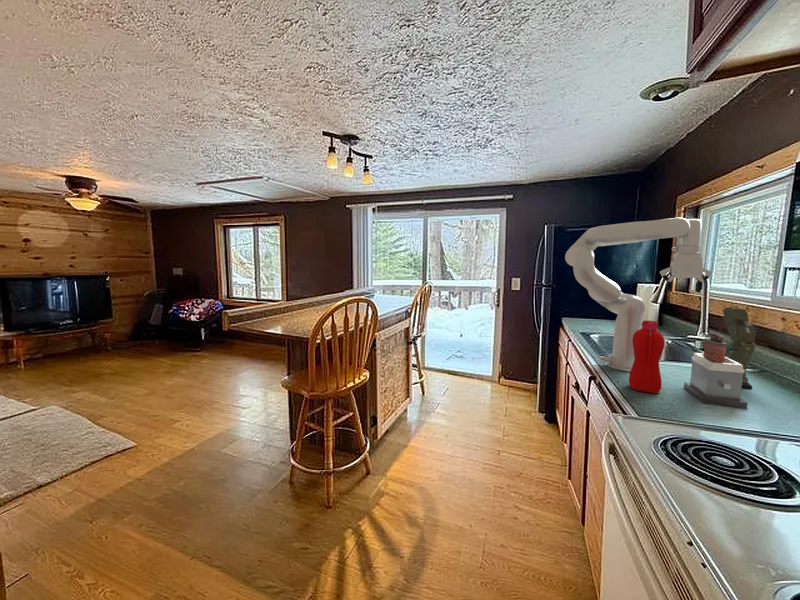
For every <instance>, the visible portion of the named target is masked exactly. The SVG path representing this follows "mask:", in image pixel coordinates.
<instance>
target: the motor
mask: <svg viewBox="0 0 800 600" xmlns="http://www.w3.org/2000/svg"><path fill="white" fill-rule="evenodd" d="M691 361H692V362H691V371H690V382H689V381H687V382H686V381H685V382H684V383H683V384H684V385H683V388H684V389H685V390H686V391H687V392H689V393H691V395H692V396H694V397H695V398H697V400H699V401H700V402H701V403H703V405H710V406H719V407H727V408H728V407H729V408H735V409H736V408H737V409H748V404H749V403H748V401H746V400H744V399H743V398H742V397H741V396H742V390H743V389H742V380H743V373H744V371H745V370H744V369H743V365H742V364H740V363H738V362H736V361H734V360H732V359H729V358H727V357H726V356H725V361H724V363H718V362H713V361H711V360H709V359H708V358H706V357H704V352H703V353H701V352H694V353H693V356H692V357H691ZM745 372H746V371H745Z"/></svg>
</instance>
